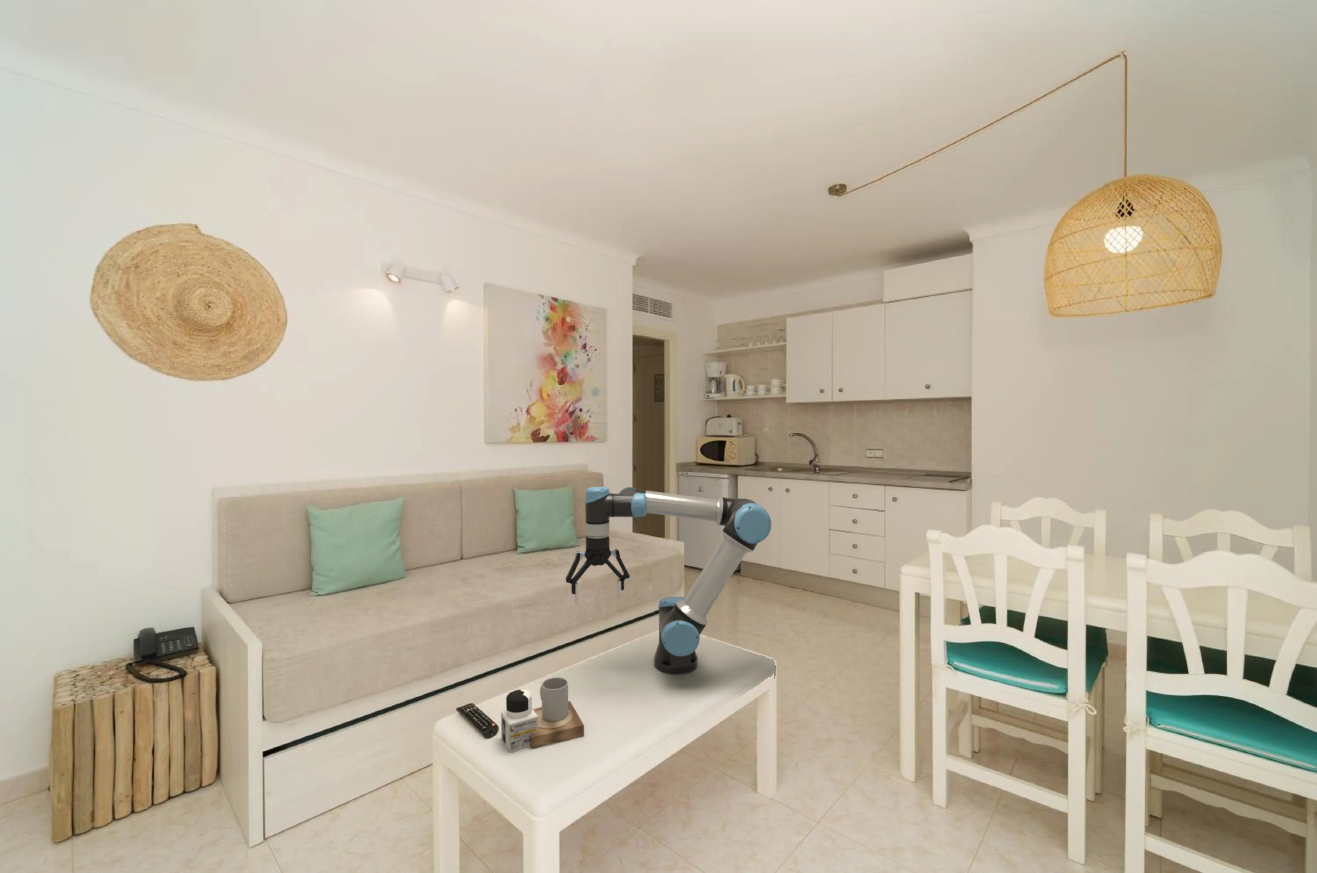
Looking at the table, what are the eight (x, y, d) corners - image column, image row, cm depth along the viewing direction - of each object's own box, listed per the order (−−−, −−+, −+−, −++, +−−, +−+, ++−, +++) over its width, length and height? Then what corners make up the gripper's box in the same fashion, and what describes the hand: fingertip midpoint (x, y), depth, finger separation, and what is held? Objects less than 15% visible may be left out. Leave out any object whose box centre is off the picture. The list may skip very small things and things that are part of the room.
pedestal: (570, 711, 162) (570, 699, 162) (584, 735, 149) (583, 723, 149) (521, 722, 156) (521, 710, 156) (531, 748, 143) (531, 736, 143)
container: (509, 753, 142) (508, 703, 141) (500, 739, 148) (500, 691, 148) (538, 744, 146) (538, 695, 145) (529, 730, 152) (528, 683, 152)
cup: (552, 725, 148) (552, 692, 148) (530, 712, 155) (530, 680, 155) (573, 714, 154) (573, 683, 153) (551, 702, 160) (551, 671, 160)
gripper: (633, 531, 183) (634, 595, 184) (556, 535, 177) (557, 601, 178) (638, 536, 176) (638, 602, 177) (558, 540, 170) (559, 609, 170)
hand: (598, 602), depth 177 cm, fingers open, 13 cm apart
